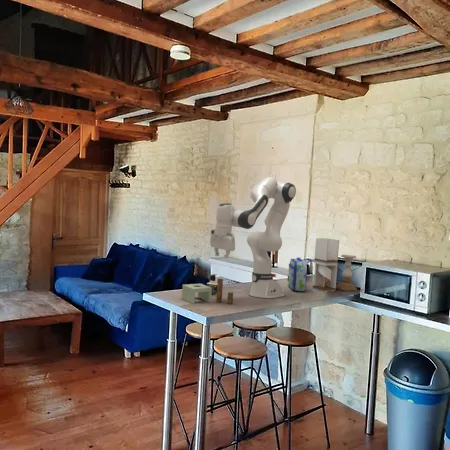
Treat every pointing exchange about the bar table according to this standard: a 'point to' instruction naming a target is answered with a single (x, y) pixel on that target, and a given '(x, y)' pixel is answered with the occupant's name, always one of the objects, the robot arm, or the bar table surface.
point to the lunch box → (297, 274)
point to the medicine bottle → (213, 283)
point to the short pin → (230, 298)
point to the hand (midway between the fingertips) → (221, 257)
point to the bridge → (190, 290)
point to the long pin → (219, 290)
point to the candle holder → (347, 275)
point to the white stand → (326, 264)
